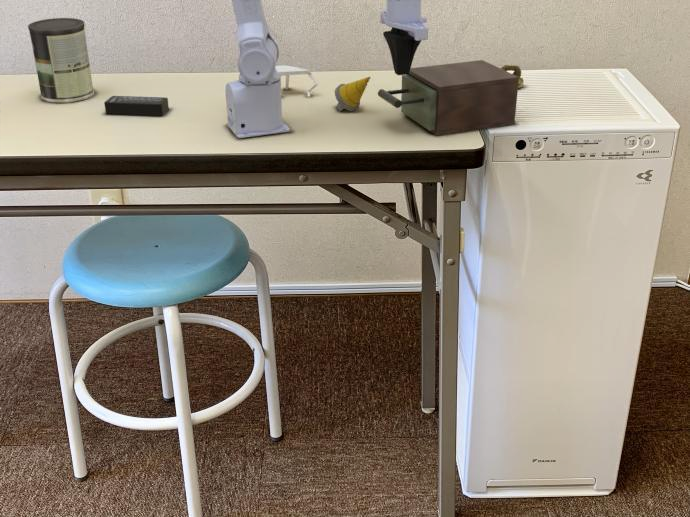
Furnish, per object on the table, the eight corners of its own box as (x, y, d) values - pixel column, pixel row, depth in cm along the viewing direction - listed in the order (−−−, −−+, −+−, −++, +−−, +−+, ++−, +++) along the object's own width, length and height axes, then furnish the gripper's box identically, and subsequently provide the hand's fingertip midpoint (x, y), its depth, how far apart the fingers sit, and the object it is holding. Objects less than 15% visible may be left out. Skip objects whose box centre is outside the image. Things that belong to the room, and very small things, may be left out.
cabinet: (436, 135, 144) (439, 87, 140) (405, 114, 154) (406, 68, 150) (514, 124, 149) (519, 77, 145) (479, 104, 159) (482, 59, 155)
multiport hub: (162, 116, 154) (160, 104, 153) (105, 114, 155) (103, 102, 154) (169, 109, 158) (168, 97, 157) (113, 107, 159) (112, 95, 158)
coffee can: (32, 102, 162) (18, 29, 155) (53, 87, 171) (41, 17, 164) (83, 103, 161) (71, 30, 154) (102, 88, 170) (92, 18, 163)
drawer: (399, 134, 142) (400, 95, 138) (372, 115, 151) (372, 78, 148) (502, 120, 148) (505, 82, 145) (470, 102, 158) (472, 66, 154)
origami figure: (255, 99, 163) (254, 74, 161) (263, 87, 170) (262, 63, 168) (316, 100, 162) (316, 75, 160) (321, 88, 169) (321, 64, 167)
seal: (449, 96, 168) (524, 96, 166) (450, 73, 165) (527, 74, 164) (448, 78, 175) (520, 78, 174) (449, 56, 173) (522, 57, 171)
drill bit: (348, 104, 161) (382, 74, 155) (346, 123, 158) (380, 94, 151) (326, 90, 159) (360, 59, 152) (324, 109, 155) (358, 78, 149)
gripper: (446, -3, 132) (442, 82, 139) (407, -17, 144) (404, 61, 150) (406, 1, 130) (404, 86, 136) (369, -14, 142) (369, 65, 148)
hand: (401, 73), depth 143 cm, fingers closed
